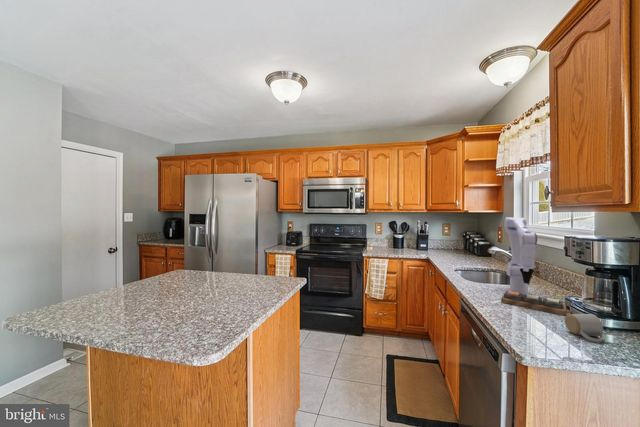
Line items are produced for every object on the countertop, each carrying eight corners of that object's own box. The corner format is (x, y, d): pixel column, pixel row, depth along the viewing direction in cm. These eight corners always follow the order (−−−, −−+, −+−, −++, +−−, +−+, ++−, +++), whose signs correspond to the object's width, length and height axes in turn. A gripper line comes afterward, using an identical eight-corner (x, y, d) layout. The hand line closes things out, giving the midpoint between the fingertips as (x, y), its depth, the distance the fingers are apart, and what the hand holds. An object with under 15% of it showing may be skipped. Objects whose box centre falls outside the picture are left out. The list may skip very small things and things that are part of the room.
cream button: (526, 301, 131) (526, 296, 131) (527, 298, 135) (527, 294, 135) (538, 303, 128) (538, 298, 128) (538, 301, 132) (538, 296, 132)
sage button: (546, 304, 126) (546, 299, 126) (546, 302, 130) (546, 297, 130) (559, 307, 123) (559, 302, 123) (558, 304, 127) (559, 299, 127)
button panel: (501, 302, 135) (501, 294, 135) (504, 296, 144) (504, 289, 144) (565, 315, 119) (566, 306, 119) (565, 308, 128) (565, 300, 128)
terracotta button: (507, 297, 136) (507, 292, 136) (508, 295, 140) (509, 290, 139) (518, 299, 133) (518, 294, 133) (519, 297, 137) (519, 292, 137)
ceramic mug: (562, 328, 106) (563, 309, 105) (585, 330, 105) (586, 311, 104) (585, 342, 95) (587, 321, 95) (611, 344, 94) (613, 323, 94)
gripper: (519, 254, 145) (518, 279, 145) (516, 257, 134) (515, 284, 134) (535, 255, 140) (534, 281, 140) (534, 259, 129) (533, 287, 129)
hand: (526, 283), depth 137 cm, fingers closed
